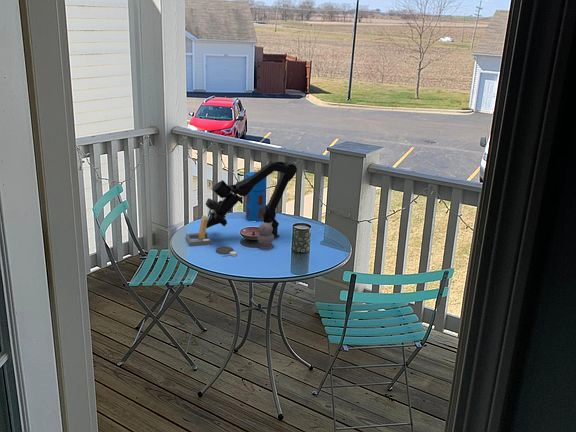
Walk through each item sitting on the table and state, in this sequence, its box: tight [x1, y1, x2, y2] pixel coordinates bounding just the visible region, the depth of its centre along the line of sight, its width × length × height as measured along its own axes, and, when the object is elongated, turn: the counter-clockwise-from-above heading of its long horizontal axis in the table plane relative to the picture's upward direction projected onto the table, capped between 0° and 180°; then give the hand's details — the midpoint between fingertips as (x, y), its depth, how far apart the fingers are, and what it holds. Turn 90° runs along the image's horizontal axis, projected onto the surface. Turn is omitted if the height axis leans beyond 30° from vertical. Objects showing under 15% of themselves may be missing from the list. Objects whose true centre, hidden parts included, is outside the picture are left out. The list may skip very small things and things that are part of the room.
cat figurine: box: [256, 222, 275, 250], centre depth 263 cm, size 8×8×12 cm
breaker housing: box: [185, 231, 212, 247], centre depth 266 cm, size 10×11×3 cm
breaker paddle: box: [197, 215, 209, 240], centre depth 265 cm, size 2×6×11 cm, turn 18°
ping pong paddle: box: [215, 245, 238, 258], centre depth 256 cm, size 10×8×2 cm
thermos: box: [245, 171, 267, 223], centre depth 298 cm, size 11×11×25 cm
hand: (205, 227), depth 265 cm, fingers closed, pressing on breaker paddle
